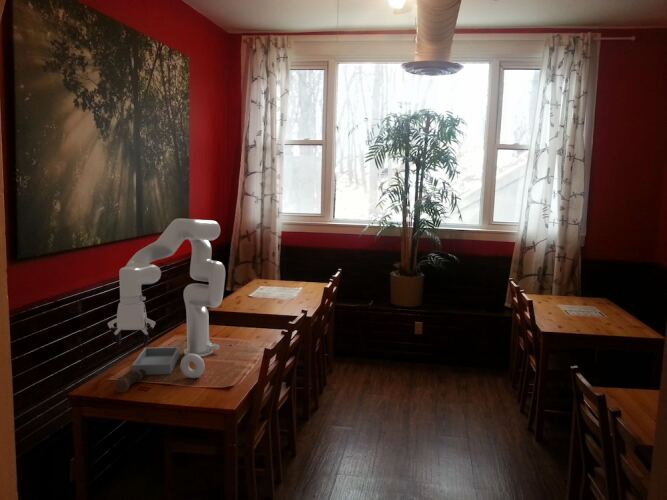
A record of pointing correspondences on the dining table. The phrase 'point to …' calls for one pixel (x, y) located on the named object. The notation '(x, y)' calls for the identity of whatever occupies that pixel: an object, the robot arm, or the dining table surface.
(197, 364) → the donut
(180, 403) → the dining table surface
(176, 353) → the bin
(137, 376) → the bolt
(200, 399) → the dining table surface
